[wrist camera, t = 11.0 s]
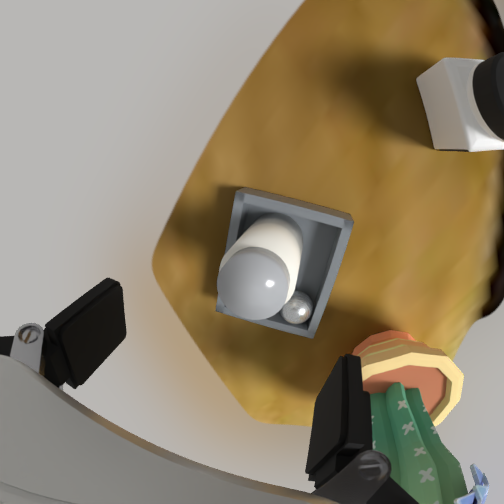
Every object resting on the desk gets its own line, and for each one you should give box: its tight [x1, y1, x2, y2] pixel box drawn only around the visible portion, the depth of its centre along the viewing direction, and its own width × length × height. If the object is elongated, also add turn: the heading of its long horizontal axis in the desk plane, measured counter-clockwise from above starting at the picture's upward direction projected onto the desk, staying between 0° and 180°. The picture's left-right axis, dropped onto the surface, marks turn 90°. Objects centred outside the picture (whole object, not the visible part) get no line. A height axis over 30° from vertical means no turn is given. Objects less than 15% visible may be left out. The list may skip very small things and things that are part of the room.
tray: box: [216, 187, 354, 339], centre depth 26 cm, size 12×10×3 cm
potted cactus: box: [352, 330, 489, 504], centre depth 17 cm, size 15×15×25 cm
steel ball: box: [280, 291, 313, 324], centre depth 26 cm, size 3×3×3 cm
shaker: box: [217, 213, 304, 320], centre depth 22 cm, size 5×5×10 cm
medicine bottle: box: [416, 52, 504, 152], centre depth 13 cm, size 7×7×12 cm
